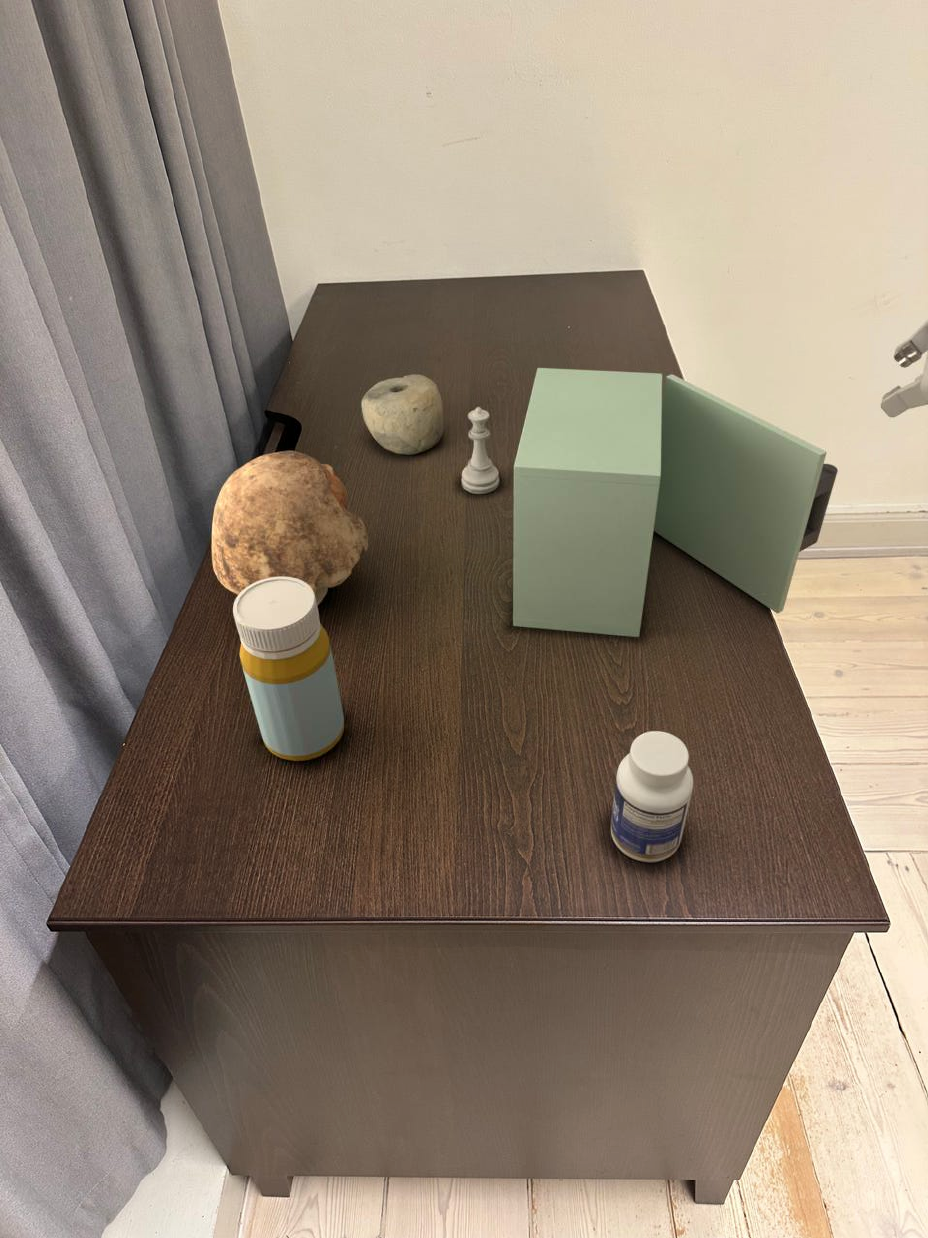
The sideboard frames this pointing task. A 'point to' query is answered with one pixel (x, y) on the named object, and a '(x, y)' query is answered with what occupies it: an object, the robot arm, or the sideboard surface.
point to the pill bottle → (652, 797)
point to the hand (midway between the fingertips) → (892, 382)
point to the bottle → (289, 668)
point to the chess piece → (479, 458)
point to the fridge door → (738, 491)
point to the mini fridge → (586, 500)
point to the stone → (404, 414)
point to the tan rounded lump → (285, 525)
